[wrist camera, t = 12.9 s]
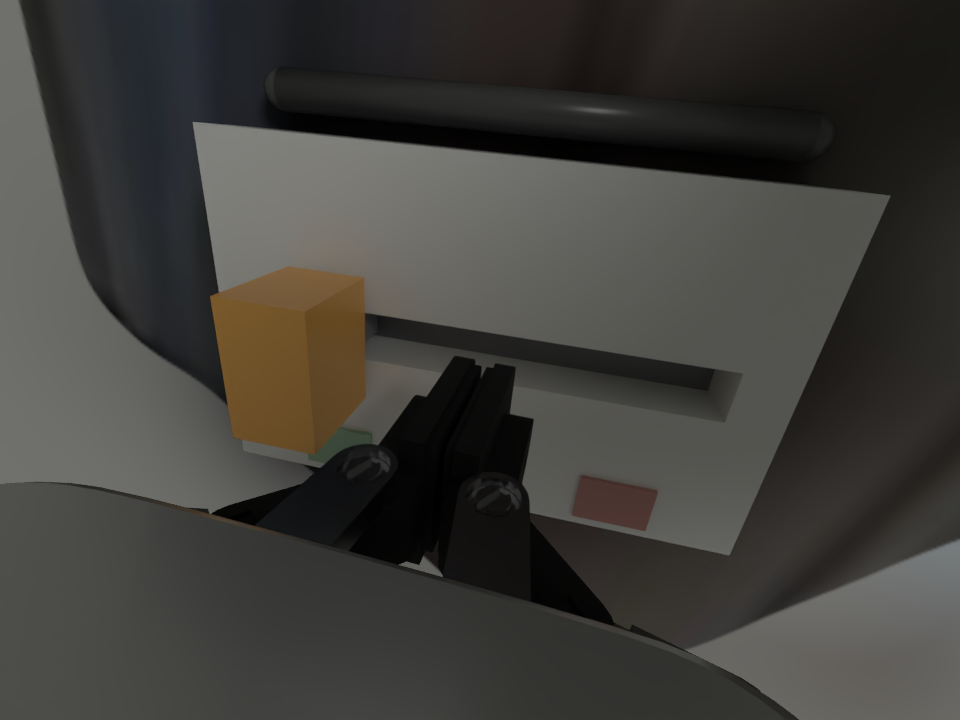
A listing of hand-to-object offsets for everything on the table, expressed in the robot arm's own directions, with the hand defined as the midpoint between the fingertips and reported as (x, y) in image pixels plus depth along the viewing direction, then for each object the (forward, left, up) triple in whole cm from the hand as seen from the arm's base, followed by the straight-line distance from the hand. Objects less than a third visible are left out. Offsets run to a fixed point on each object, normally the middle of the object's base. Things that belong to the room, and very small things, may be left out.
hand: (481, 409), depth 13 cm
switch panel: (+1, 0, -10) cm, 10 cm away
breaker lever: (+7, +1, -7) cm, 10 cm away
